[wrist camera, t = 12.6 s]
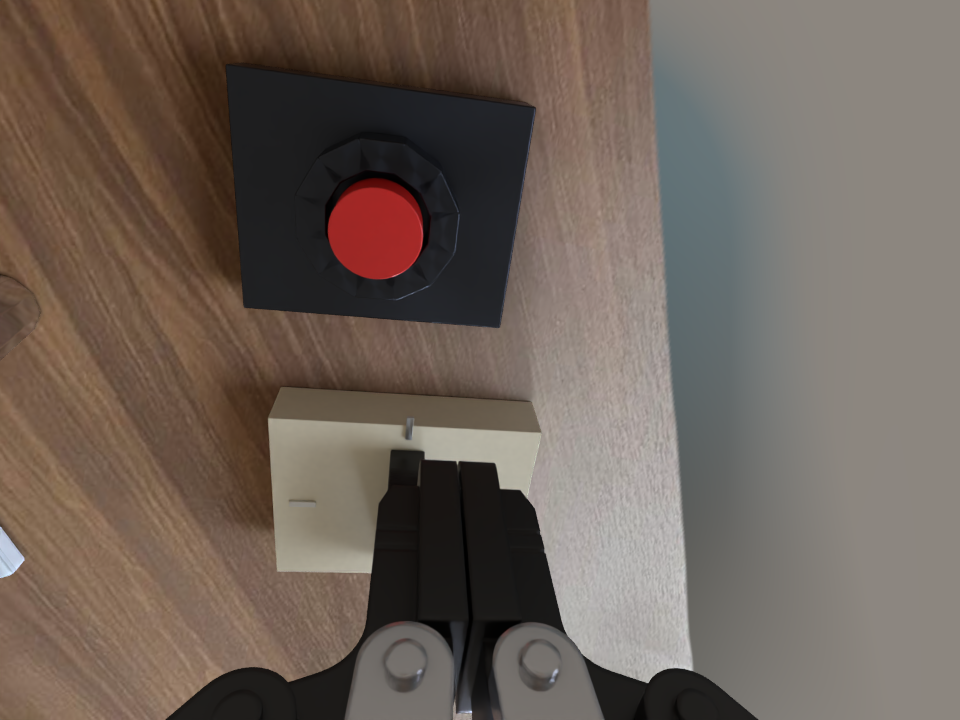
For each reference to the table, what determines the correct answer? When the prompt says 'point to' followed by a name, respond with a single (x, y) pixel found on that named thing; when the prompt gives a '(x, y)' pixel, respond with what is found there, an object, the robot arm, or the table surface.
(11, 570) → the hard drive
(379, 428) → the beige base plate
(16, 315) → the milkshake
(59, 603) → the table surface
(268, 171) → the button box
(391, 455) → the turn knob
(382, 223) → the button
